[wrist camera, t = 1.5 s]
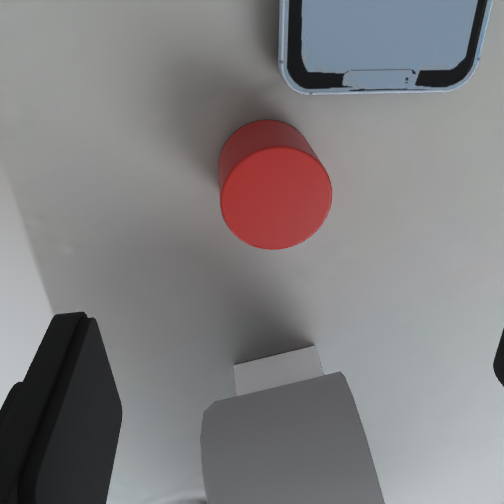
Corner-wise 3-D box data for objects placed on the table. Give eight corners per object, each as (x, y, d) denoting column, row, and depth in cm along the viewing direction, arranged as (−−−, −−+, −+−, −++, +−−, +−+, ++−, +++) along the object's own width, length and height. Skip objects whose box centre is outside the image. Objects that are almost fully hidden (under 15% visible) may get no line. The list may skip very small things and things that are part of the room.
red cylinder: (213, 123, 17) (214, 151, 14) (313, 115, 18) (335, 141, 15) (222, 214, 20) (225, 255, 17) (311, 206, 20) (330, 245, 17)
